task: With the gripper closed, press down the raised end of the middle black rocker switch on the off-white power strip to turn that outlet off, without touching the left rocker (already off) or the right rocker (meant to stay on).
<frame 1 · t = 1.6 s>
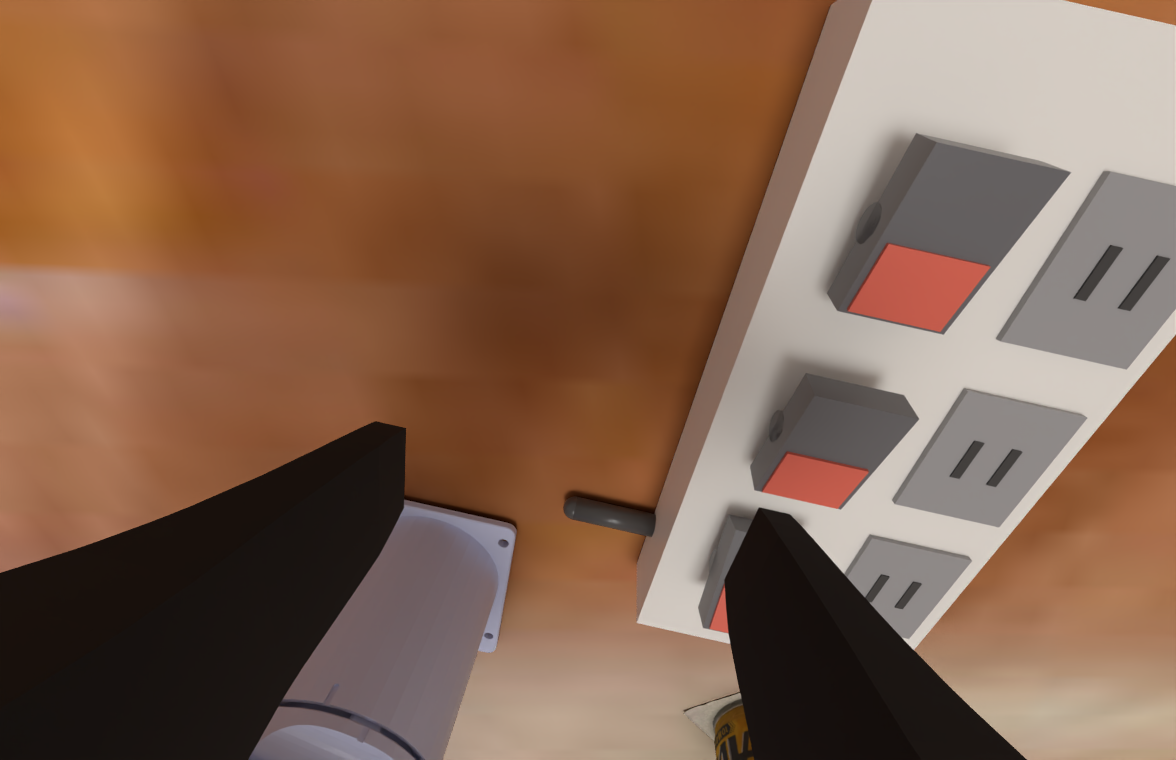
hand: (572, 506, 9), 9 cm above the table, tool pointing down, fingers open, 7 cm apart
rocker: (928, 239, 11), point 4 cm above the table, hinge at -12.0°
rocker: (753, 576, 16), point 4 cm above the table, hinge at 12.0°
power strip: (847, 393, 18), on the table
rocker middle: (823, 441, 14), point 4 cm above the table, hinge at -12.0°
condiment: (778, 718, 27), on the table
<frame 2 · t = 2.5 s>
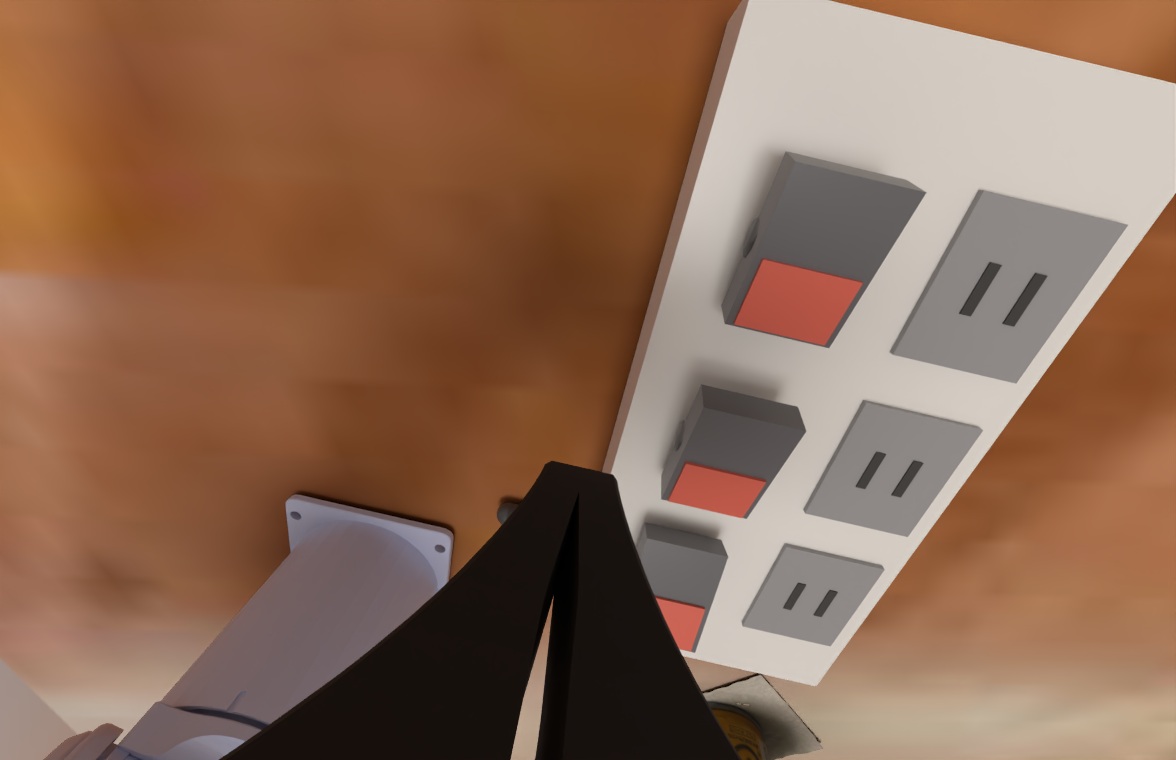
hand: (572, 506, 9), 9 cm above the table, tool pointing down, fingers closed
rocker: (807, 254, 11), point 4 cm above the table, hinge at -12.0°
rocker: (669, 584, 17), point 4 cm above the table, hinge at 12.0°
power strip: (769, 402, 18), on the table
rocker middle: (724, 452, 14), point 4 cm above the table, hinge at -12.0°
condiment: (723, 724, 27), on the table
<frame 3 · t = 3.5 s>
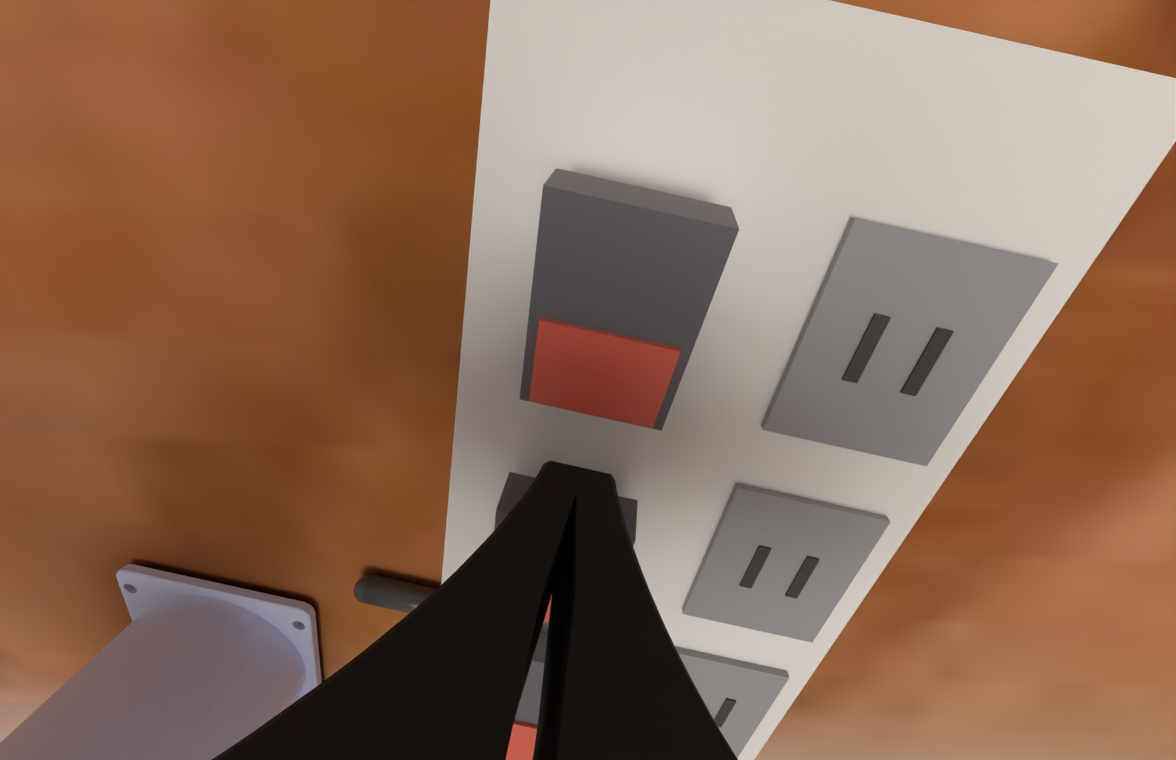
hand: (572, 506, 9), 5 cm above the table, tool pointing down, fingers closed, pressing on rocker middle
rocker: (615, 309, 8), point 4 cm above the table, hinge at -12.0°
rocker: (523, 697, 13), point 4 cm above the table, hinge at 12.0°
power strip: (655, 465, 15), on the table
rocker middle: (558, 551, 11), point 4 cm above the table, hinge at -11.8°, touching gripper
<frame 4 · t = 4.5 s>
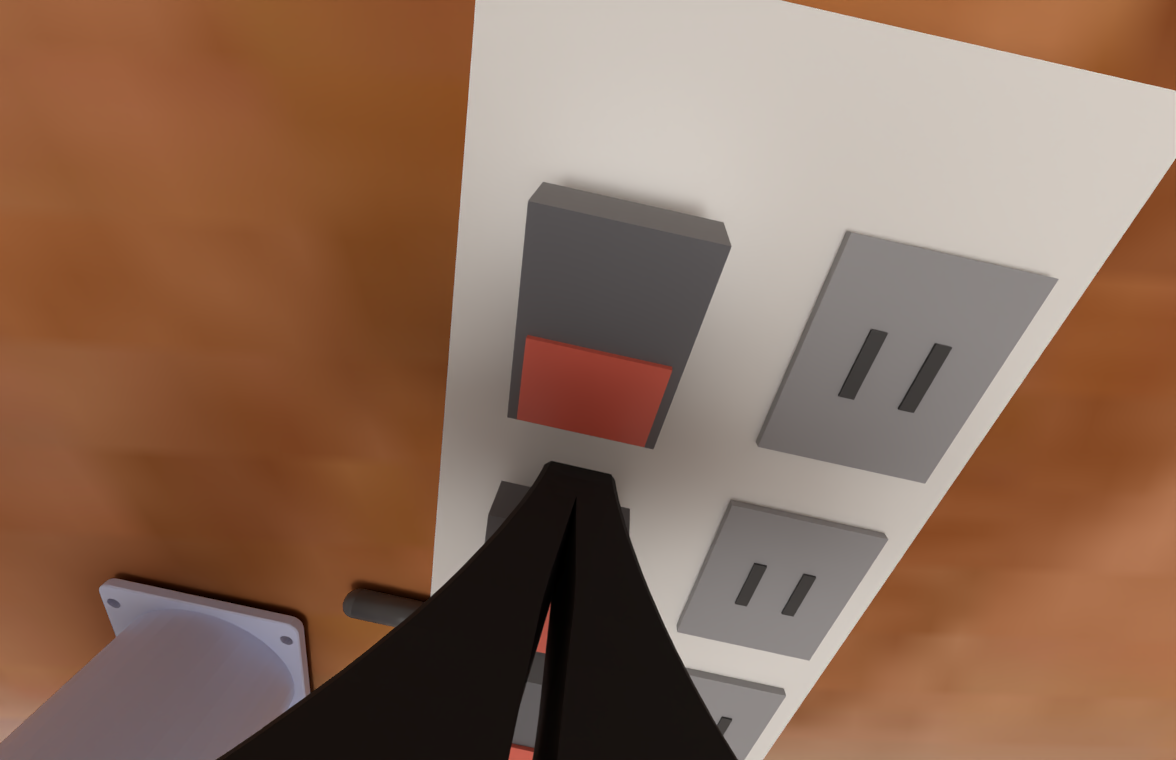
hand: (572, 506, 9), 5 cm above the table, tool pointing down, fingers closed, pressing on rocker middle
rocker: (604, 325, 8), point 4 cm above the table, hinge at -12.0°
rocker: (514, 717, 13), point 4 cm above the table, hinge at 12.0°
power strip: (649, 478, 14), on the table
rocker middle: (548, 569, 10), point 4 cm above the table, hinge at -3.3°, touching gripper
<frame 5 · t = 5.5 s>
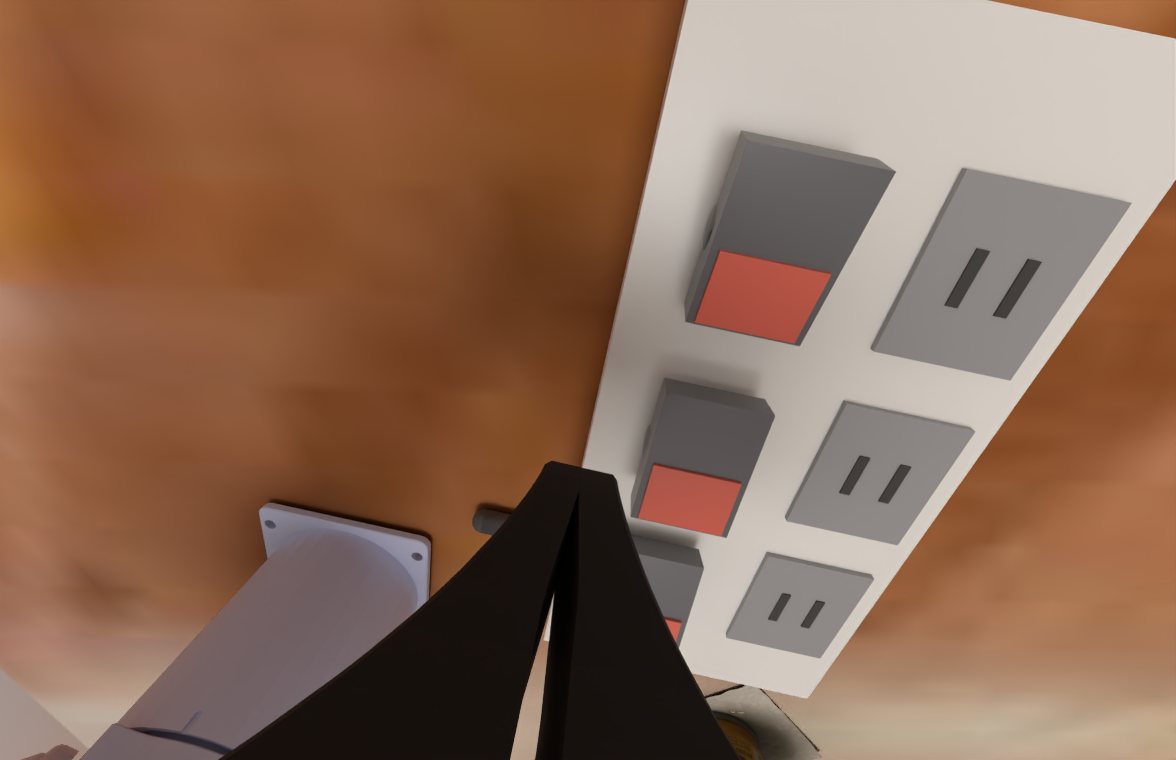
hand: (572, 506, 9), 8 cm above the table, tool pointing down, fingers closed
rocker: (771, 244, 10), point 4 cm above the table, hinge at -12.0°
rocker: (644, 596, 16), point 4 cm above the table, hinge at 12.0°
power strip: (750, 402, 17), on the table
rocker middle: (695, 456, 13), point 4 cm above the table, hinge at 3.9°
condiment: (718, 732, 26), on the table
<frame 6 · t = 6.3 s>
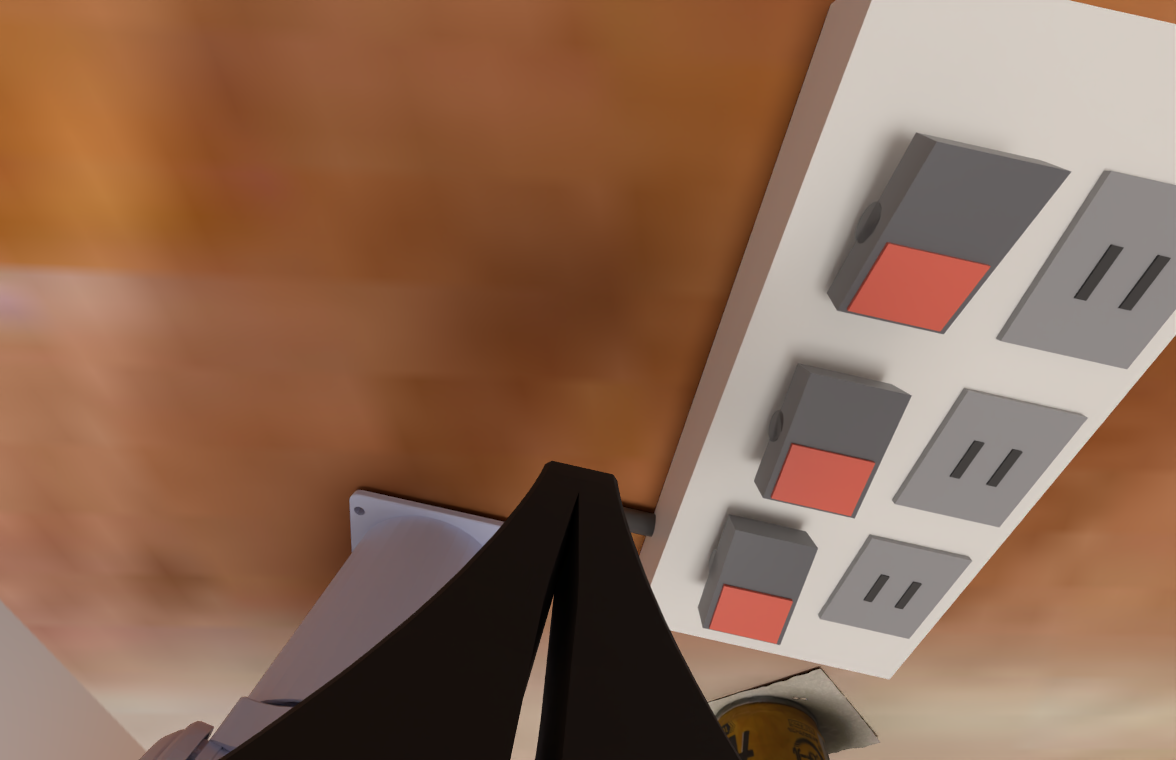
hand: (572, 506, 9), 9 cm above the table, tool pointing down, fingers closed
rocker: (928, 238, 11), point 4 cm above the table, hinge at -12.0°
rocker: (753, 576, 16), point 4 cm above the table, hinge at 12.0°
power strip: (847, 393, 18), on the table
rocker middle: (824, 439, 14), point 4 cm above the table, hinge at 8.3°
condiment: (777, 718, 27), on the table
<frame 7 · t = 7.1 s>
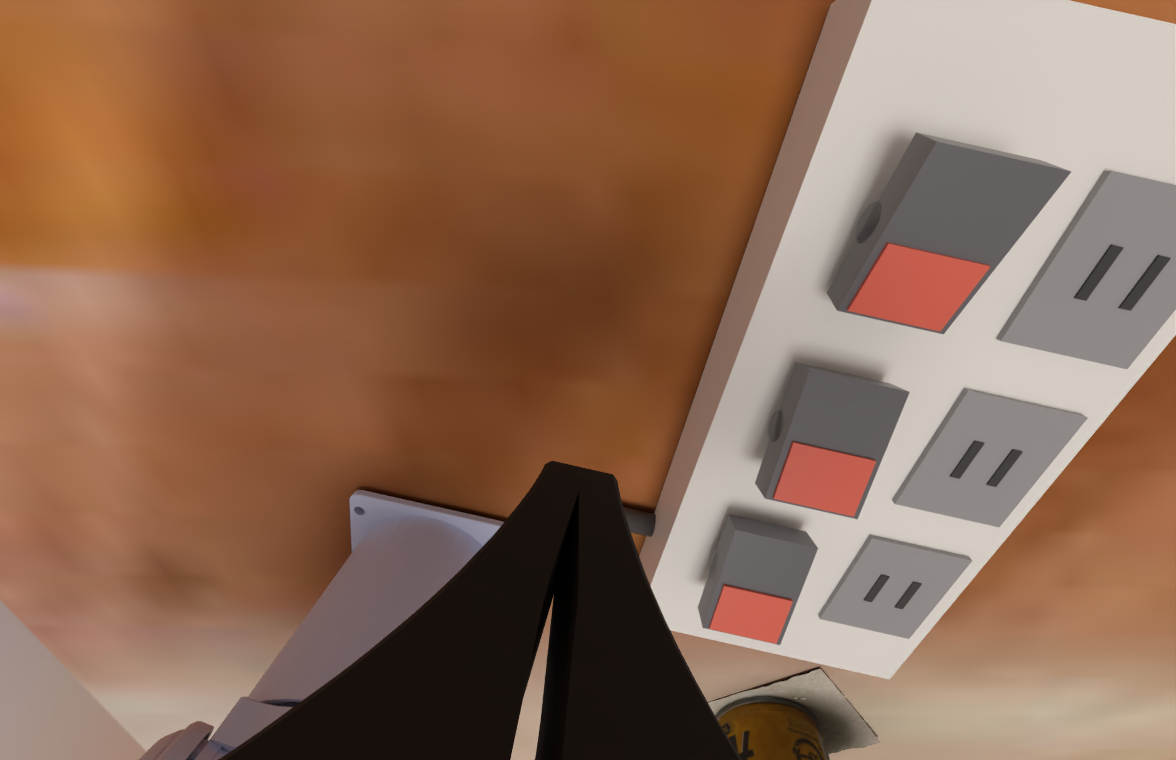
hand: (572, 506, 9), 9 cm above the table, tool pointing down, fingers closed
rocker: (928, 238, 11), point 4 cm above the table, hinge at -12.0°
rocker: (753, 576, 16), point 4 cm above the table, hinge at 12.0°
power strip: (847, 393, 18), on the table
rocker middle: (824, 438, 14), point 4 cm above the table, hinge at 12.0°
condiment: (777, 718, 27), on the table
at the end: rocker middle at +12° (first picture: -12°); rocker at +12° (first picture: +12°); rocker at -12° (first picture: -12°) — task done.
